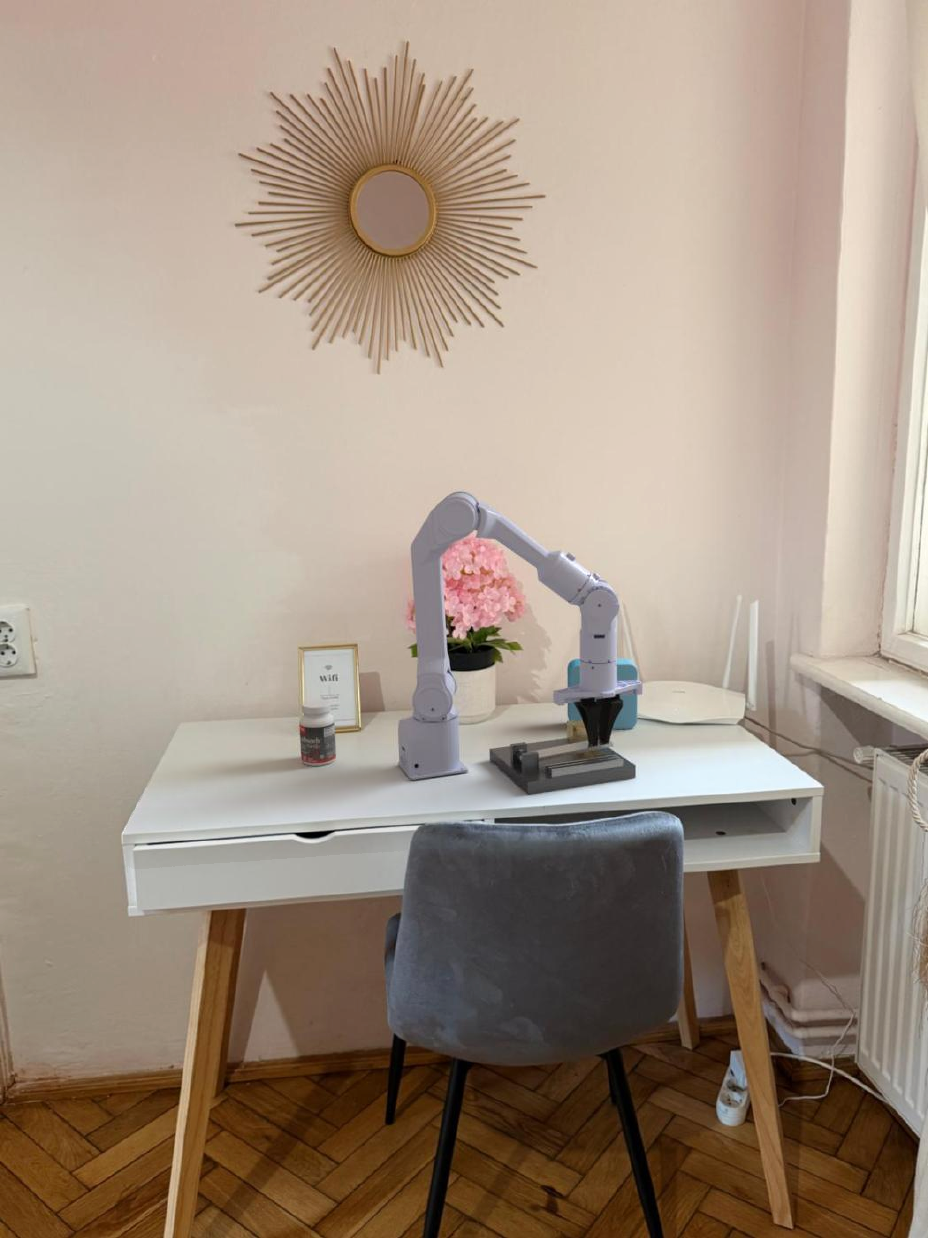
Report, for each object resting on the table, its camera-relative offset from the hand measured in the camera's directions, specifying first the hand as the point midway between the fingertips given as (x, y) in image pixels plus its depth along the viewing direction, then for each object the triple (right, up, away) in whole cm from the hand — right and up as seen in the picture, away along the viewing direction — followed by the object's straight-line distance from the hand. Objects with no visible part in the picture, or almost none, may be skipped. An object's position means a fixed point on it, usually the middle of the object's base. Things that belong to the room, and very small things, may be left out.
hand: (598, 742), depth 158 cm
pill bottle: (-45, -4, +7) cm, 46 cm away
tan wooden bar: (-5, -2, -2) cm, 6 cm away
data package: (+4, 0, +22) cm, 22 cm away
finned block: (-6, -4, +1) cm, 7 cm away
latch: (-1, -1, +6) cm, 6 cm away
